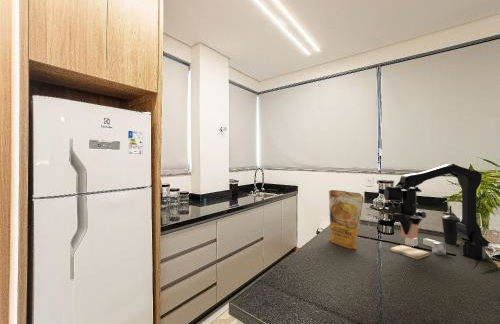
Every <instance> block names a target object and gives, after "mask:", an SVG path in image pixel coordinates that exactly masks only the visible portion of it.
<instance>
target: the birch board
mask: <svg viewBox="0 0 500 324" xmlns="http://www.w3.org/2000/svg"><path fill="white" fill-rule="evenodd" d="M389 250H390V251H391V252H394V253H397V254H400V255H403V256H406V257H410V258H413V259H415V260H420V259H422V258H425V257H429V256H430V252H428V251H425V250H422V249H421V250H420V249H417V248H414V247H412V246H409V245H405V244H404V245H403V244H400V245H397V246H393V247H390V249H389Z"/></svg>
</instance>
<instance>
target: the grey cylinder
mask: <svg viewBox="0 0 500 324" xmlns="http://www.w3.org/2000/svg"><path fill="white" fill-rule="evenodd" d="M446 244H447V243H445V242H442V241H438V240H435V241H432V247H431V252H432V254H434V255H438V256H446V255H447V252H446V251H447V248H446V246H447V245H446Z"/></svg>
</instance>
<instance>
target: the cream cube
mask: <svg viewBox="0 0 500 324" xmlns="http://www.w3.org/2000/svg"><path fill="white" fill-rule="evenodd" d="M404 238H405V240H404V246H408V247H412V246H413V247H412V248H414V246H415V247H418V246H419V245H418V241H419V240H418V237H417V238H414V239H410V238H406V237H404ZM417 245H418V246H417Z"/></svg>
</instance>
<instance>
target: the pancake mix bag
mask: <svg viewBox="0 0 500 324" xmlns="http://www.w3.org/2000/svg"><path fill="white" fill-rule="evenodd" d="M328 197H329V198H328V200H329V227H330V228H329V229H330V231H329V232H330V233H329V241H330V243H333V244H335V245H337V246H340V247H344V248H345V249H349V250H357V244H356V243H357V239H358V234H359V233H358V232H359V227H360V221H361V216H362V208H363V202H364V195H362V194H361V193H360V192H350V191H346V190H337V189H331V190H328Z"/></svg>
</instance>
